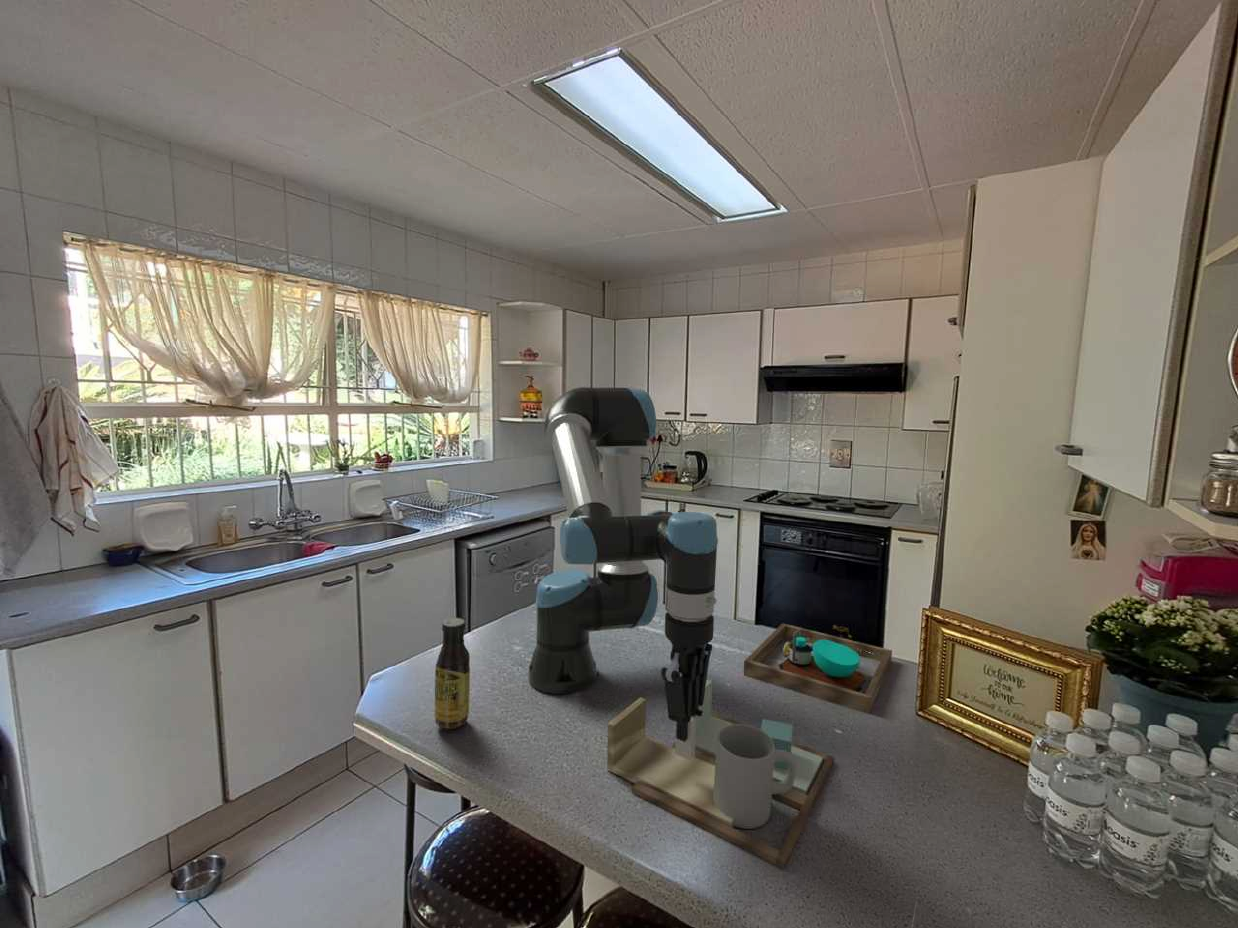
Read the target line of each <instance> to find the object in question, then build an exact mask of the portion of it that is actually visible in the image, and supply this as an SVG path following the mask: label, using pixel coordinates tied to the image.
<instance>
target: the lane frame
mask: <svg viewBox="0 0 1238 928" xmlns="http://www.w3.org/2000/svg"><path fill="white" fill-rule="evenodd" d="M711 716H713V717H716V718H719V719H721V720H724V721H727V722H729V723H732V724H744V725H746V724H745V723H743V722H739V721H737V720H735V719H732V718H728V717H726V716H723V715H721V714H717V713H716V712H713V711H711ZM791 746H794V747H797V748H799V749H802V750H805V751H807V752H810V753H813V754H815V755H818V756H821V757H823V763H822V766H821V768H820V770H819V772H818V774H817V776H816V778H815V780H814V782H813V784H812V786H811V788H810V790H809V792H808V794H807V795H806V794H804V793H801V792H799V791H797V790H794V789H792V788H791V789H790V790H789V791H788V792H786V793H783V794H772V798H771V799H775V800H776V801H779V802H781V803H783V804H786V805H788V806H791V807H793V808H795V809H797V810H799V812H798V814H797V816H796V818H795V820H794V822H793V824H792V825H791V828H790V830H789V832H788V833H787V836H786V838H785V839H784V842H783V844H782V846H781V848H780V850H779V849H777V848H775V847H773V846H771V845H769V844H766V843H764V842H762V841H760V840H759V839H756V838H755V837H753V836H750V835H748V834H746V833H744V832H742V831H740V830H737V829H736V828H734V827H733V828H732V827H730V826H728V825H726V824H724V823H722V822H720V821H718V820H716V819H714V818H711V817H709V816H707V815H705V814H703V813H701V812H699V811H697V810H695V809H693V808H691V807H689V806H687V805H685V804H683V803H681V802H679V801H677V800H675V799H672V798H670V797H668V796H666V795H664V794H662V793H660V792H658V791H656V790H654V789H652V788H650V787H648V786H646V785H644V784H642V783H640V782H638V781H637V782H636V783H633V785H632V786H631V793H632V794H634V795H636V796H638V797H640V798H642V799H643V800H646V801H648V802H650V803H651V804H654V805H655V806H658V807H660V808H661V809H663V810H666V811H668V812H670V813H671V814H674V815H676V816H678V817H679V818H682V819H683V820H685V821H688V822H689V823H691V824H693V825H696V826H697V827H699V828H701V829H703V830H705V831H707V832H709V833H711V834H714V835H715V836H717V837H719V838H722V839H723V840H725V841H727V842H729V843H731V844H734V845H735V846H737V847H738V848H741V849H743V850H745V851H748V852H749V853H751V854H752V855H754V856H757V857H759V858H761V859H763V860H765V861H767V862H769V863H771V864H772V865H774V866H777V867H779V868H781V869H783V870H784V869H785V866H786V865H787V862H788V860H789V858H790V855H791V853H792V851H793V849H794V846H795V844H796V843H797V841H798V839H799V837H800V834H801V832H802V830H803V829H804V825H805V823H806V822H807V820H808V817H809V815H810V813H811V811H812V809H813V808H814V805H815V803H816V801H817V798H818V796H819V794H820V793H821V790H822V788H823V785H824V784H825V781H826V780H827V777H828V775H829V773H830V771H831V769H832V767H833V765H834V763H835V760H834V759H835V757H834V756H833V755H830V754H827V753H824V752H821V751H818V750H816V749H813V748H810V747H807V746H805V745H803V744H799V743H796V742H794V741H792V745H791ZM670 747H671V748H674V749H675V748H676V741H675V742H674V743H673V744H672V745H671V746H670ZM694 757H695V758H697V759H700V760H702V761H704V762H707V763H709V764H711V765H714V766H715V761H716V757H715V756H713V755H710V754H708V753H705V752H703V751H701V750H698V749H696V748H695V756H694ZM774 782H775V781H774Z"/></svg>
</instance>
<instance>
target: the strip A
mask: <svg viewBox="0 0 1238 928" xmlns="http://www.w3.org/2000/svg"><path fill="white" fill-rule="evenodd" d="M646 710H647V699H646V698H644V697H639V698H638V699H636V700H635V701H634V702H632V704H631V705H629V706H628V707H626V708H625V709H624V710H623V711H621V712H620V713H619V714H618V715H616V716H615V717H614V718H613V719H611V720H610V721H609V722H608V723H607V754H606V755H607V756H606V757H607V760H606V761H607V762H606V763H607V766H606V767H607V768H606V769H607V771H609V772H611V773H613V774H615V775H617V776H619V777H621V778H624V779H626V781H630V783H633V784H635V783H636V782H637V781H638V782H640V783H642V784H644V785H646V786H648V787H650V788H652V789H654V790H656V791H658V792H660V793H662V794H664V795H666V796H668V797H670V798H672V799H675V800H677V801H679V802H681V803H683V804H685V805H687V806H689V807H691V808H693V809H695V810H697V811H699V812H701V813H703V814H705V815H707V816H709V817H711V818H714V819H716V820H718V821H720V822H722V823H724V824H726V825H728V826H730V827H732V828H734V827H735V826H734V819H732V818H730V817H728V816H726V815H725V814H723V813H722V812H721V811H720V810H719V809H718V808H717V807H716V805H715V803H714V800H713V790H714V778H715V766H714V765H711V764H709V763H707V762H704V761H702V760H700V759H697V758H695V757H693V758H692V759H691V760H689V759H686V758H684V757H682V756H679V755H677V754H675V749H674V748H671V746H670V745H666V744H664V743H662V742H660V741H658V740H655V739H652V738H650V737H648V736H646V724H647V723H646V719H647V717H646V716H647V715H646V713H647V711H646Z"/></svg>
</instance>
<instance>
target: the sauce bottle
mask: <svg viewBox="0 0 1238 928" xmlns="http://www.w3.org/2000/svg"><path fill="white" fill-rule="evenodd" d="M441 624H442V627H441V629H442V632H443V633H442V646H441V649H440V652H439V654H438V658H437V661H436V665H435V670H434V671H435V676H434V677H435V678H434V680H435V681H434V684H435V685H434V718H435V723H436V725H437V726H438V727H439V728H441V729H448V730H449V729H457V728H459V727H461V726H463V725H465V724H466V722H467V721H468V719H469V713H470V690H471V689H470V688H471V687H470V686H471V685H470V683H471V682H470V680H471V677H470V676H471V668H470V659H471V658H470V657H471V656H470V652H469V650H468V649H467V648H466V645H465V637H464V635H465V634H464V633H465V632H464V631H465V629H466V621H465V620H464V619H463V618H461V617H460V618H459V617H451V618H447V619H444V621H443V622H442V623H441Z"/></svg>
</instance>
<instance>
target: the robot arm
mask: <svg viewBox="0 0 1238 928" xmlns="http://www.w3.org/2000/svg"><path fill="white" fill-rule="evenodd" d="M656 429H657V415H656V410H655V405H654V403H653V400H652V398H651V396H650V394H649V393H648V392H647V391H646V390H643V389H641V388H640V389H639V388H630V387H588V386H587V387H586V386H581V387H575V388H571V389H570V390H568V391H566V392H564V393H563V394H562V395H560V396H559V397H558V398H557V399H555V400H554V401H553V403H552V405H551V406H550V408H549V409H548V411H547V414H546V416H545V421H544V433H545V439H546V441H547V443H548V445H549V446H550V447H551V448H552V449H553V453H554V457H555V462H556V467H557V472H558V475H559V480H560V484H561V489H562V495H563V498H564V502H565V508H566V512H567V517H568V518H565V519H564V520H563V521H561V523H560V530H559V544H560V554H561V557H562V560H563V561H564V562H565V564H568V565H588V566H589V565H594V564H600V565H598V567H597V569H596V570H597V576H594V577H591V576H590V574H589V572H587V571H585V570H582V569H578V570H577V569H566V570H561V571H560V570H559V571H557V572H556V571H555V572H554V573H550V574H549V575H546V576H545V577H543V578H542V579H541V580H540V581H539V582H538V583H537V587H536V598H535V606H536V645H535V648H534V652H533V654H532V657H531V661H530V662H529V663H530V664H529V666H528V682H529V684H530V685H531V687H532V688H534V689H536V690H538V691H539V692H542V693H545V694H550V693H551V694H552V695H569V694H575V693H578V692H581V691H585V690H586V689H588V688H590V687H591V686H592V685H593V684H594V683H595V682H596V680H597V671H598V670H597V662H596V661H595V660H594V655H593V652H592V649H591V646H590V632H591V633H592V632H597V631H598V632H600V631H611V630H612V631H613V630H621V629H629V630H630V629H634V628H639V627H644V626H648V625H649V624H650V623H651V622H652V620H653V619H654V617H655V615H656V612H657V608H658V602H659V601H658V600H659V589H658V583H657V579H656V576H654V575H653V574H652V573H650V572H649V567H648V565H647V564H646V563H644V562H643V561H654V560H655V561H656V560H657V561H658V560H661V561H663V562H664V563H665V564H666V577H665V578H666V581H665V585H666V586H665V604H664V605H665V607H664V608H665V611H666V613H665V616H664V619H665V620H664V635H665V638H667V640H668V641H669V642H670V643H671V645H672V647H671V651H670V654H669V655H670V658H669V659H670V660H671V662H670V664H669V665H668V667H666V666H665V667H662V668H661V670H660V671H661V672H660V674H661V676H662V679H663V681H664V690H665V698H666V699H665V700H666V706H667V707H666V708H667V717H668V718H667V719H669V720H670V721H673V722H676V724H675V742H676V748H675V754H677V755H679V756H682V757H684V758H686V759H689V760H691V759H692V758H693V757H694V756H695V731H696V717H695V715H697V716H699V717H701V716H702V713H703V711H701V710H699V706H702V705H703V702H704V694H705V687H706V680H707V678H708V672H709V663H710V658H711V654H712V650H713V644H711V642H712V641H713V638H714V627H715V626H714V625H715V619H714V616H713V614H714V612H715V605H716V603H717V598H716V597H715V589H716V571H717V567H716V566H717V553H718V551H717V549H718V544H719V538H718V530H717V527H718V526H717V525H718V524H717V521H716V519H715V517H714V516H712V515H710V514H708V513H702V512H697V511H693V512H691V511H685V512H683V511H682V512H676V513H673V512H671V511H668V510H664V509H663V510H661V509H660V510H658V509H657V510H653V511H652V512H650V513H648V514H646V515H642V474H641V473H642V471H641V469H642V467H641V466H642V463H641V455H642V454H643V453H644V452H645V450H646V449H648V441H650V440H653V438H654V437H655V435H656ZM591 440H593V441H595V448H596V450H597V451H598V453H600V454H601V456H602V476H601V472H600V470H599V469H600V468H599V466H598V463H597V459H596V455H595V453H594V450H593V447H592V443H591ZM594 681H595V682H594ZM589 686H590V687H589Z"/></svg>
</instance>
